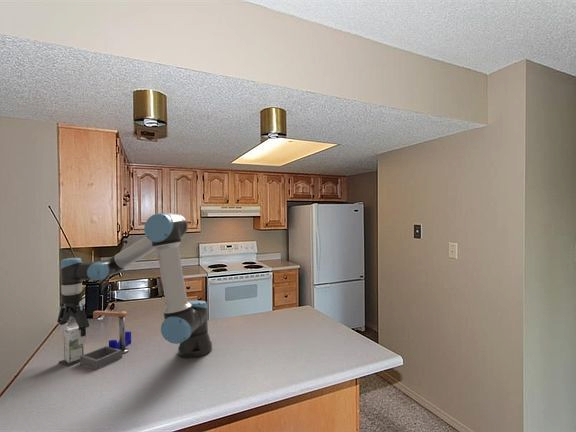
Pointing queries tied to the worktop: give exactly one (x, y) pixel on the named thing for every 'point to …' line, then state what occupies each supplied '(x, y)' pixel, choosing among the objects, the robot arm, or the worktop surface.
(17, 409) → the worktop surface
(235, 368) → the worktop surface
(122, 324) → the post
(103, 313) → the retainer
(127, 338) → the blue stepped block
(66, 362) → the pad
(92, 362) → the cradle
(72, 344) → the syrup box
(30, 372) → the worktop surface
